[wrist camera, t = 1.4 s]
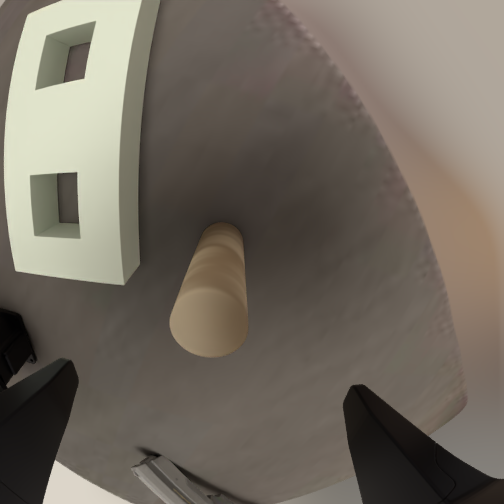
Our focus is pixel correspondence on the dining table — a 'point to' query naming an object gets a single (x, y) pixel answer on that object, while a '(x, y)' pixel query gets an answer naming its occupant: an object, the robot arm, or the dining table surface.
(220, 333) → the dowel
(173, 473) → the handgun
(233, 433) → the dining table surface
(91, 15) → the socket block
